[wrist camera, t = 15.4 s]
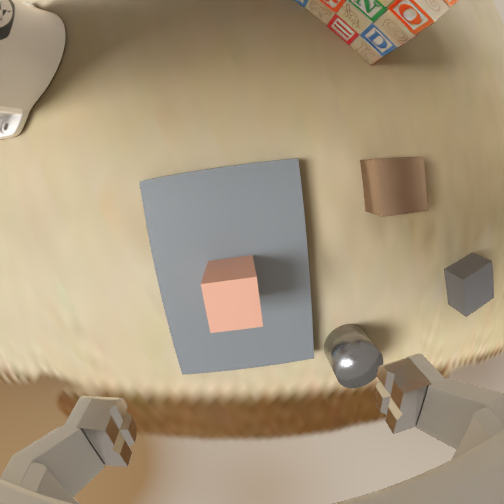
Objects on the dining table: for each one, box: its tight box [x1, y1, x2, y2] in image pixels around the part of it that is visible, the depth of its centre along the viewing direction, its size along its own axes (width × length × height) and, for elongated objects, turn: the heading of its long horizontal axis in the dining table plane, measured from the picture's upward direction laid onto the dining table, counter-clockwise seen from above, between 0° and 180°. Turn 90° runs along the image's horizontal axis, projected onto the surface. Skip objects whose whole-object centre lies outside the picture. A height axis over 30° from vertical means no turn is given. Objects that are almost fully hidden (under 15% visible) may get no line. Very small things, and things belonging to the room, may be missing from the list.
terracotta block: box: [201, 255, 263, 333], centre depth 25 cm, size 4×4×6 cm
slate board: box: [140, 158, 314, 374], centre depth 29 cm, size 14×20×2 cm
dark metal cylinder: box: [324, 324, 383, 388], centre depth 30 cm, size 5×5×5 cm
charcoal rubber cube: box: [444, 253, 494, 317], centre depth 29 cm, size 5×5×4 cm
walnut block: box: [360, 157, 428, 217], centre depth 26 cm, size 5×5×4 cm
